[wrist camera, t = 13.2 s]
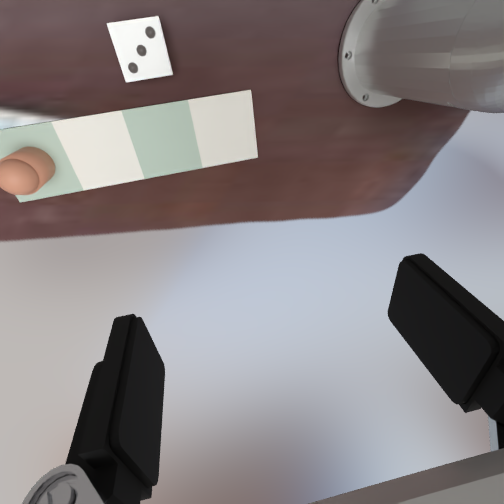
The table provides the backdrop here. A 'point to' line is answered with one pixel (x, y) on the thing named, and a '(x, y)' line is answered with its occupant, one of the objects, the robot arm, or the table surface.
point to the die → (140, 48)
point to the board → (139, 142)
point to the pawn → (26, 171)
